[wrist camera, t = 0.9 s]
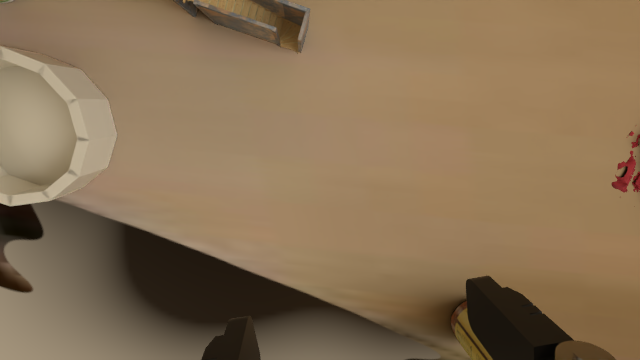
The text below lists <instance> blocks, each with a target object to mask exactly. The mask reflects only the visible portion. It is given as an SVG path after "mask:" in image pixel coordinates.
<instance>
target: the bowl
mask: <svg viewBox="0 0 640 360" xmlns="http://www.w3.org/2000/svg"><path fill="white" fill-rule="evenodd" d="M116 138H117V132H116V128H115V124H114V121H113V117H112V113H111V109H110V105H109V102H108V99H107V98H106V97H105V96H104V95H103V93H102V92H101V91H100V90H99V89H98V88H97V87H96V86H95V85H94V83H93V82H92V81H91V80H90V79H89V78H88V77H87V76H86V75H85V73H84V72H83V71H82V70H81V69H79V68H76V67H74V66H71V65H69V64H66V63H64V62H61V61H59V60H56V59H54V58H51V57H49V56H46V55H44V54H40V53H35V52H30V51H24V50H19V49H14V48H9V47H3V46H0V203H2V204H5V205H8V206H16V205H23V204H30V203H38V202H45V201H51V200H54V199H56V198H59V197H61V196H64V195H66V194H69V193H71V192H74V191H76V190H79V189H81V188H83V187H84V186H86V185H87V184H88V183H89V182H91V181H92V180H93V179H94V178H95V177H97V176H98V175H99V174H100V173H101V172H103V171H104V170H105V169H106V168H108V165H109V162H110V158H111V155H112V152H113V148H114V145H115V142H116Z"/></svg>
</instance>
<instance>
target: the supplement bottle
mask: <svg viewBox="0 0 640 360" xmlns="http://www.w3.org/2000/svg"><path fill="white" fill-rule="evenodd" d="M12 1H14V0H0V3H9V2H12Z"/></svg>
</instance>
